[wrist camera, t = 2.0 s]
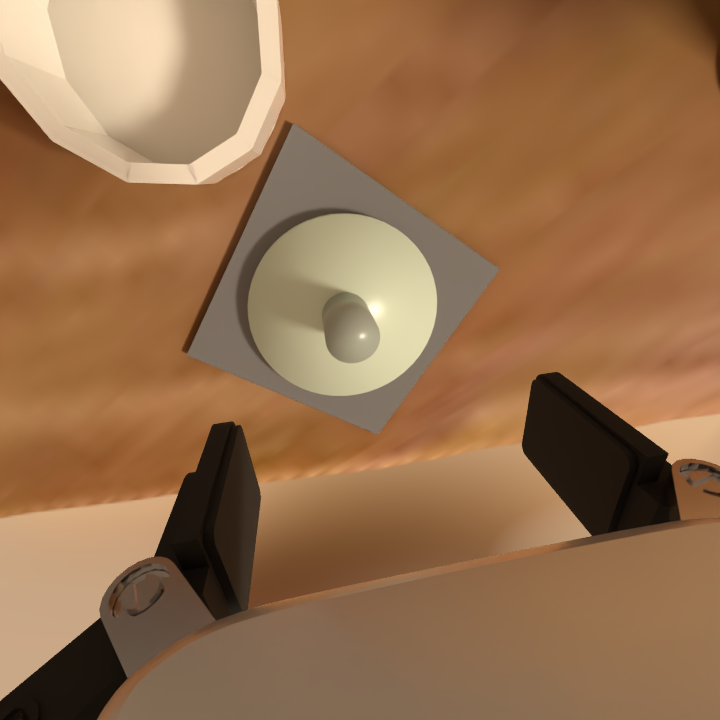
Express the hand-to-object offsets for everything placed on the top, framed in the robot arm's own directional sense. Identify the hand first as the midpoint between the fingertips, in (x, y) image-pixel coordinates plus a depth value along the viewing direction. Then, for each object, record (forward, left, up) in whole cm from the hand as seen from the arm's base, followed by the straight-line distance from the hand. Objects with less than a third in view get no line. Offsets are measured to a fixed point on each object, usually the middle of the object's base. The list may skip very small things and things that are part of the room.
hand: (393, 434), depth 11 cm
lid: (-2, +2, -21) cm, 21 cm away
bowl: (+16, -7, -21) cm, 27 cm away
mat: (-2, +2, -21) cm, 22 cm away
